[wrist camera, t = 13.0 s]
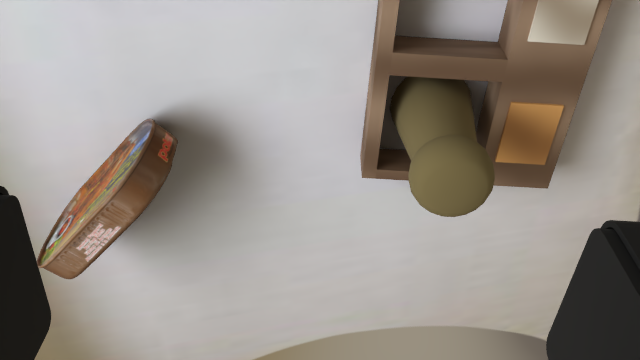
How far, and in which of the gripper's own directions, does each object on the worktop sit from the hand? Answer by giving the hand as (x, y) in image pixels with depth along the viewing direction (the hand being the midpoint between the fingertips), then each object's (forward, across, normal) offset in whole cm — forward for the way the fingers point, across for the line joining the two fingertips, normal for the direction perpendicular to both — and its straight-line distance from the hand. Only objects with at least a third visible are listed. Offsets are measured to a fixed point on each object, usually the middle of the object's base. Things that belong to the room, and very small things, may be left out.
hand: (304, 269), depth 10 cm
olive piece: (+32, -9, +13) cm, 36 cm away
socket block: (+32, -11, +9) cm, 35 cm away
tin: (+33, +15, +21) cm, 42 cm away
